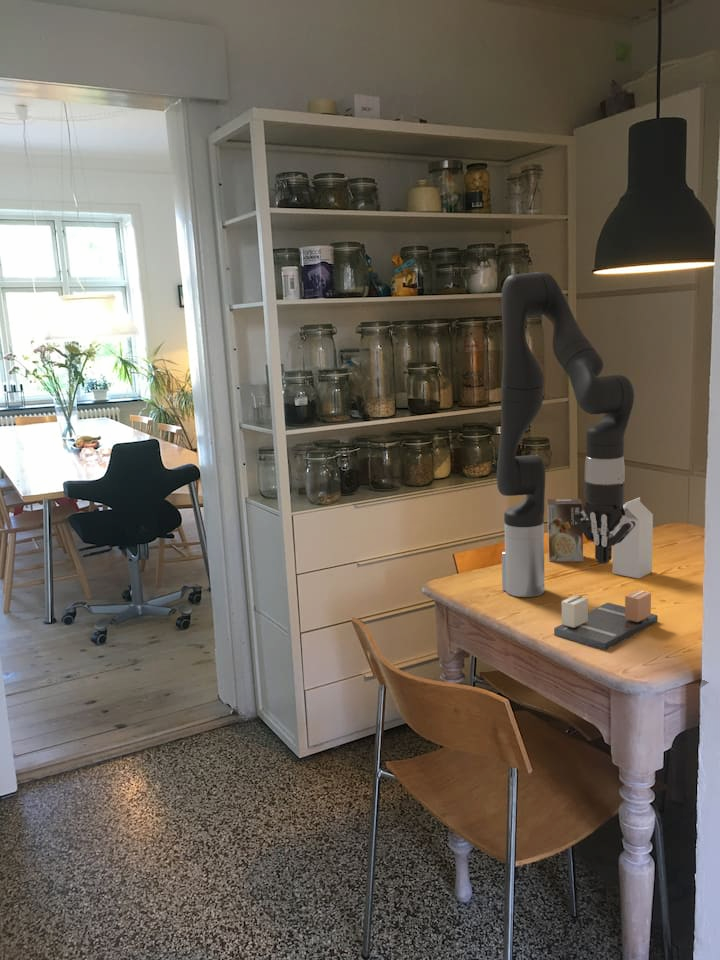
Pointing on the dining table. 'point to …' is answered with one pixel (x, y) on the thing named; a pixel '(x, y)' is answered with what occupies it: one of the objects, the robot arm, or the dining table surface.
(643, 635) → the dining table surface
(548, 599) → the dining table surface
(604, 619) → the console board
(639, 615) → the fader terracotta
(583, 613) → the block
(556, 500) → the coffee box
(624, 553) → the milk carton
